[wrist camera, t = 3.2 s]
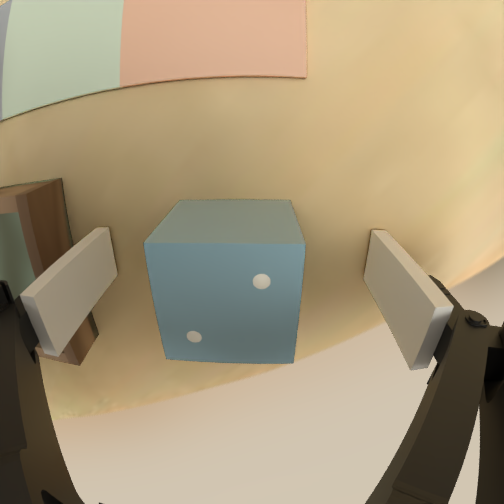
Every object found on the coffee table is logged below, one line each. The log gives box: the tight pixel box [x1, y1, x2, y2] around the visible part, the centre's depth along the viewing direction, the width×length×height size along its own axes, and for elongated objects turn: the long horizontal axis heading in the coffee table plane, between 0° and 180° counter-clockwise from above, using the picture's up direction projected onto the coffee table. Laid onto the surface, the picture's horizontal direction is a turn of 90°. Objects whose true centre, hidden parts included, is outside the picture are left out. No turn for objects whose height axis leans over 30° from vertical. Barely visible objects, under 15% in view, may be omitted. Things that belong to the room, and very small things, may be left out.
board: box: [0, 0, 307, 121], centre depth 10 cm, size 24×8×1 cm, turn 90°
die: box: [143, 199, 306, 364], centre depth 12 cm, size 5×5×5 cm
